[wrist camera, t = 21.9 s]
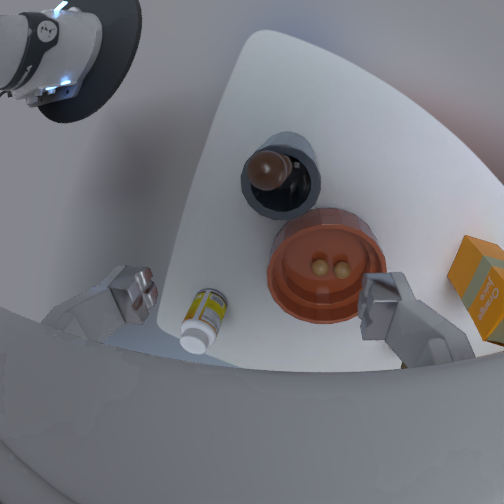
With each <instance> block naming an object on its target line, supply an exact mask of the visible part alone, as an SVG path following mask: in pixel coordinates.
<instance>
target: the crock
mask: <svg viewBox="0 0 504 504" xmlns="http://www.w3.org/2000/svg"><path fill="white" fill-rule="evenodd" d="M266 150H268V151H273V152H277V153H280V154H283V155H286V156H289V157H291V158H292V159H293V161H300V168H299V169H295V168H294V169H293V171H292V172H291V173H290V175H289V176H288V177H287V178H286V180H285V181H284V182H283V183H282V184H281V185H280V186H279V187H278V188H276V189H273V190H261V189H258V188H257V187H255V186H254V185H252V183H251V182H250V181H249V179H248V176H247V171H246V170H247V164H248V162H249V160H250V158H251V157H252V156H253V155H255V154H256V153H258V152H260V151H266ZM253 155H252V156H251V157H250V158H249V159H248V160H247V161H246V163H245V165H244V168H243V171H242V174H241V187H242V193H243V195H244V197H245V198H246V200H247V202H248V204H249V205H250V206H251V207H252V208H253V209H254V210H255V211H256V212H258V213H259V214H261V215H262V216H265V217H267V218H270V219H273V220H291V219H294V218H297V217H300V216H302V215H304V214H305V213H306V212H307V211H308V210H310V209H311V208H312V207H313V206H314V204H315V203H316V201H317V198H318V196H319V194H320V191H321V176H320V172H319V168H318V165H317V161H316V157H315V154H314V151H313V149H312V147H311V145H310V143H309V142H308V141H307V140H306V139H305V138H304V137H303V136H301V135H299V134H297V133H294V132H280V133H277V134H275V135H273V136H271V137H270V138H269V139H268V140H267V141H266V142H265V143H264V144H263V145H262V146H261V147H260V148H258V149H257V150H256V151H255V152H254V154H253Z"/></svg>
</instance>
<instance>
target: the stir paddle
mask: <svg viewBox="0 0 504 504" xmlns="http://www.w3.org/2000/svg"><path fill="white" fill-rule="evenodd" d="M294 168H295V169H299V168H300V161H293V159H292V158H291V157H289V156H286V155H283V154H280V153H277V152H273V151H268V150H266V151H260V152H258V153H256V154H255V155H253V156H252V157H251V158H250V160H249V162H248V164H247V170H246V171H247V176H248V179H249V181H250V182H251V183H252V185H254V186H255V187H257V188H258V189H261V190H273V189H276V188H278V187H279V186H280V185H281V184H282V183H283V182H284V181H285V180H286V178H287V177H288V176H289V175H290V173H291V172H292V171H293V169H294Z"/></svg>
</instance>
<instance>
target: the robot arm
mask: <svg viewBox="0 0 504 504" xmlns="http://www.w3.org/2000/svg"><path fill="white" fill-rule="evenodd" d="M66 4H67V2H65V1H63V2H62V3H61V4H60V5H59V6H58V7H57V8H56V9H54V10H44V11H42V12H41V13H37V12H23V13H20V14H18V15H0V90H4V91H3V92H1V93H0V97H1V96H2V95H3V94H4V93H6V92H8V97H12V96H13V97H14V98H15V99H16V100H19V99H24V98H25V99H26V102H27V105H28V106H29V107H30V108H32V107H37V106H41V105H45V104H49V103H53V102H57V101H61V100H65V99H70V98H74V97H76V96H77V95H78V93H79V91H80V88H81V85H82V82H83V80H84V78H85V76H86V75H87V73H88V72H89V71H90V69H91V68H92V66H93V64H94V62H95V60H96V58H97V56H98V53H99V50H100V47H101V43H102V25H101V22H100V20H99V18H98V17H97V16H96V15H94V14H92V13H87V12H82V11H81V10H80V9H79V8H78V7H71V8H70V9H69V10H60V9H61V8H62V7H63V6H65V5H66ZM152 277H153V275H152V272H151V270H150V268H148V267H142V266H127V265H118V266H116V267H115V268H114V269H113V270H112V271H111V272H110V273H109V274H108V276H107V277H106V278H105V279H104V280H103V281H102V282H101V283H100V284H99V286H94V287H92V288H91V289H88V290H86V291H85V292H83V293H81V294H79V295H77V296H75V297H73V298H71V299H69V300H67V301H65V302H63V303H61V304H60V305H57V306H55V307H54V308H53V309H52V310H51V311H50V312H49V314H48V315H47V316H46V317H45V318H44V319H43V320H42V322H41V323H38V322H36V321H33V320H30V319H28V318H25V317H23V316H20V315H18V314H16V313H13V312H11V311H9V310H6V309H4V308H2V307H0V504H504V351H502V352H498V353H494V354H490V355H485V356H481V357H475V354H474V352H473V350H472V347H471V345H470V343H469V341H468V338H467V336H466V334H465V333H464V332H463V331H461V330H460V329H459V328H457V327H456V326H455V325H453V324H452V323H451V322H449V321H448V320H447V319H445V318H444V317H443V316H441V315H440V314H438V313H437V312H436V311H434V310H433V309H432V308H430V307H429V306H427V305H426V304H425V303H423V302H422V301H420V300H416V299H415V296H414V294H413V292H412V290H411V288H410V286H409V284H408V281H407V279H406V277H405V275H404V273H402V272H389V273H363V276H362V280H361V285H362V290H361V291H360V292H359V296H358V305H357V309H358V317H359V318H360V319H361V320H362V321H361V325H360V328H361V334H362V339H363V340H385V342H386V343H387V344H388V345H389V346H390V348H391V349H392V350H393V351H394V352H395V353H396V355H397V356H398V357H399V358H400V359H401V360H402V362H403V363H404V364H405V365H406V366H407V367H408V368H405V369H394V370H381V371H365V372H286V371H268V370H255V369H244V368H234V367H224V366H217V365H208V364H202V363H195V362H188V361H182V360H176V359H171V358H165V357H160V356H154V355H150V354H145V353H141V352H136V351H132V350H127V349H123V348H119V347H115V346H111V345H107V344H104V343H101V342H102V341H103V340H105V339H106V338H108V337H109V336H110V335H112V334H113V333H114V332H115V331H117V330H118V329H119V328H120V327H122V326H123V325H125V323H131V324H138V325H143V323H144V322H145V320H146V318H147V317H148V315H149V312H148V310H149V309H151V308H152V307H154V305H155V304H156V301H157V297H158V291H157V287H156V285H155V284H154V282H153V281H152V280H151V279H152Z"/></svg>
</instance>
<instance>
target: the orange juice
mask: <svg viewBox="0 0 504 504" xmlns="http://www.w3.org/2000/svg"><path fill="white" fill-rule="evenodd" d="M447 276H448V278H449V279H450V281H451V283H452V284H453V286H454V288H455V289H456V291H457V293H458V294H459V296H460V298H461V300H462V302H463V304H464V305H465V307H466V309H467V311H468V312H469V314H470V316H471V318H472V319H473V321H474V323H475V325H476V327H477V329H478V331H479V333H480V335H481V337H482V340H483V341H487V342H490V343H493V344H497V345H500V346H503V347H504V251H503V250H502V249H501V248H500V247H499V246H498V245H496V244H493V243H490V242H487V241H484V240H480V239H477V238H473V237H470V236H466V235H465V236H464V239H463V241H462V244H461V246H460V248H459V251H458V253H457V255H456V258H455V260H454V262H453V265H452V267H451V269H450V271H449V273H448V275H447Z"/></svg>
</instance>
